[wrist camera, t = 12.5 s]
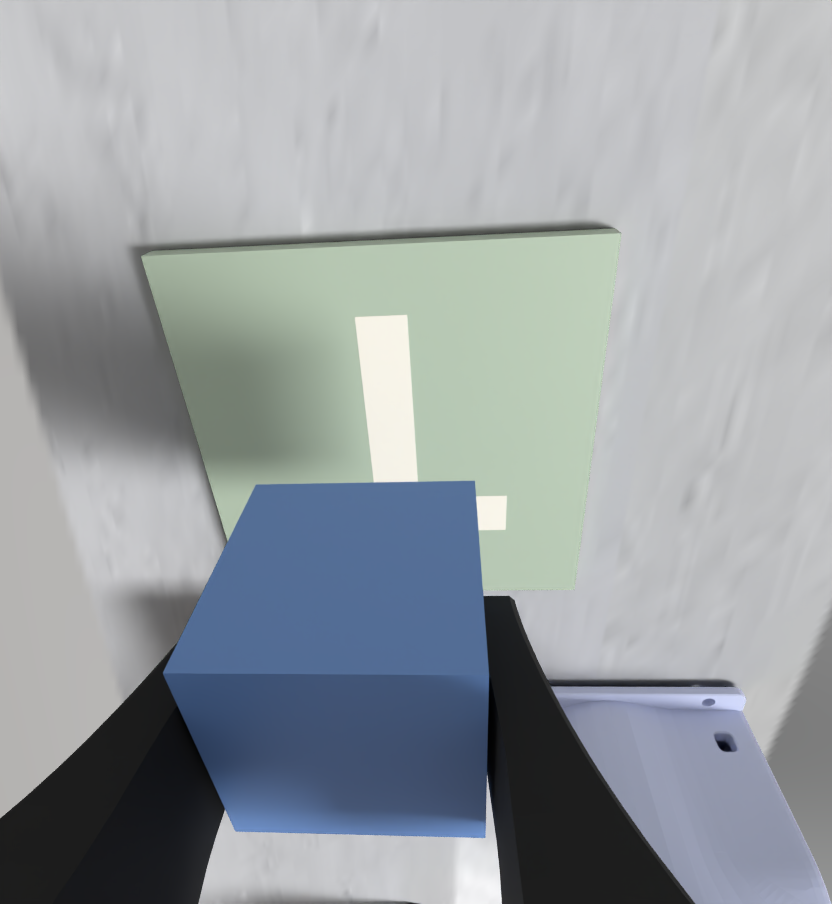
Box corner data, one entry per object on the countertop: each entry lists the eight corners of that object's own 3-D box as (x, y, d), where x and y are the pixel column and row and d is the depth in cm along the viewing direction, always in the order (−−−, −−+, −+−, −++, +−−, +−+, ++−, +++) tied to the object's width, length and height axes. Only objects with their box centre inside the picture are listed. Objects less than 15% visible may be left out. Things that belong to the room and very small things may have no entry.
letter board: (615, 228, 14) (621, 233, 14) (571, 577, 20) (574, 589, 20) (151, 250, 15) (140, 256, 14) (248, 580, 21) (243, 592, 21)
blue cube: (474, 480, 11) (489, 675, 7) (474, 632, 14) (485, 838, 10) (256, 484, 12) (162, 673, 8) (293, 631, 14) (235, 831, 10)
